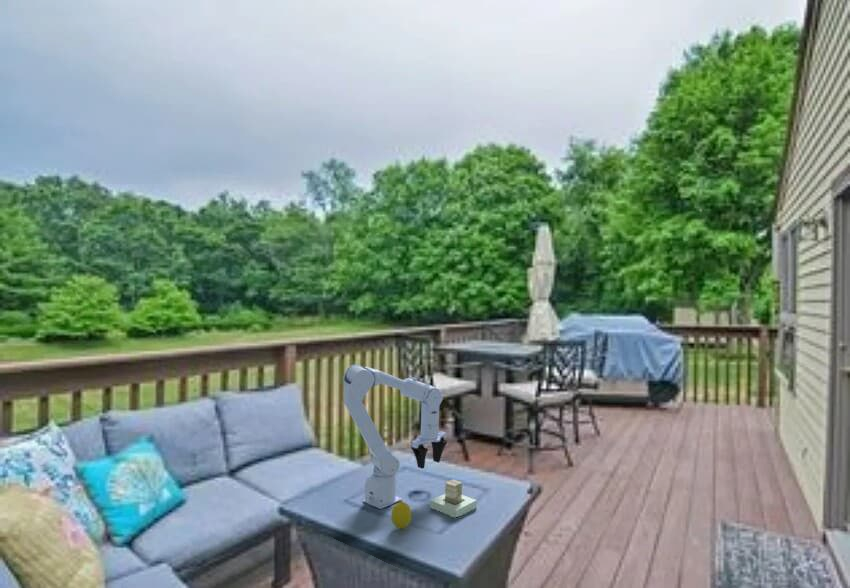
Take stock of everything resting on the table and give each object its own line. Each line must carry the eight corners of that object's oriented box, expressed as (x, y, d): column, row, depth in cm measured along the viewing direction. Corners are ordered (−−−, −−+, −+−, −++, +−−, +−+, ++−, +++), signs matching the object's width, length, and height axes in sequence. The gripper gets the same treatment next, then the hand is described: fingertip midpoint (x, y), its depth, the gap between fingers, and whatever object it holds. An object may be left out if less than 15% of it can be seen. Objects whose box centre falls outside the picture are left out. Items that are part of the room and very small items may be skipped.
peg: (454, 511, 176) (454, 486, 175) (444, 508, 178) (445, 482, 178) (461, 508, 178) (462, 482, 178) (452, 504, 181) (452, 479, 180)
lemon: (400, 522, 168) (400, 495, 167) (414, 528, 164) (415, 501, 164) (387, 529, 164) (387, 501, 163) (401, 535, 160) (402, 507, 159)
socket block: (456, 518, 171) (456, 510, 171) (430, 508, 178) (430, 500, 178) (476, 508, 179) (476, 500, 178) (451, 498, 185) (451, 490, 185)
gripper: (424, 430, 179) (423, 473, 180) (453, 421, 190) (452, 462, 191) (407, 425, 184) (406, 467, 185) (437, 416, 195) (436, 456, 196)
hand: (428, 464), depth 188 cm, fingers open, 7 cm apart
